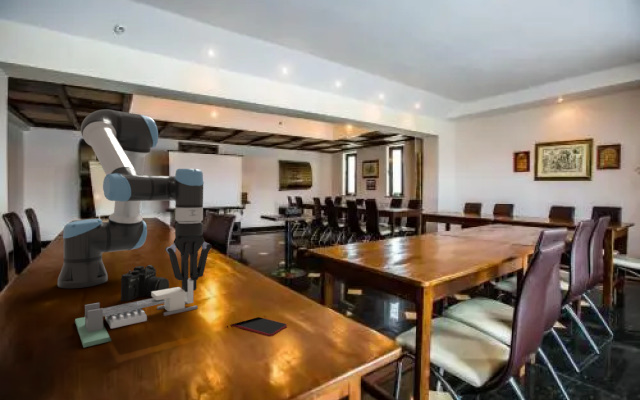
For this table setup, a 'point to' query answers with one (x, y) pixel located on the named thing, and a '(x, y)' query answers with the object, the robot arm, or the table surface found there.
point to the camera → (141, 283)
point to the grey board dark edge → (131, 306)
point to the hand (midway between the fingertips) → (189, 301)
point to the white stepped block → (171, 298)
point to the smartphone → (261, 326)
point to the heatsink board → (91, 335)
